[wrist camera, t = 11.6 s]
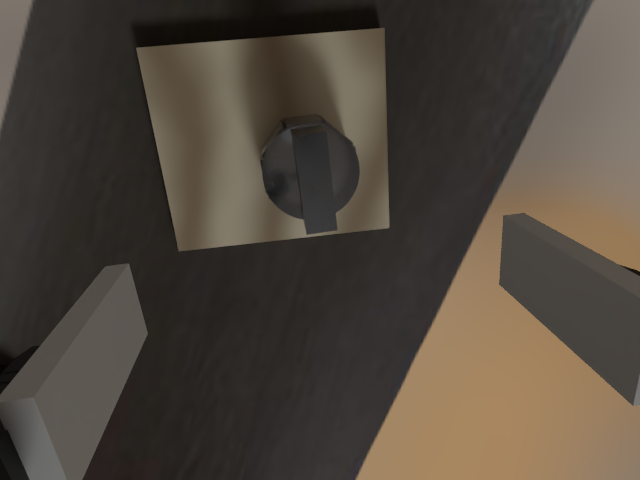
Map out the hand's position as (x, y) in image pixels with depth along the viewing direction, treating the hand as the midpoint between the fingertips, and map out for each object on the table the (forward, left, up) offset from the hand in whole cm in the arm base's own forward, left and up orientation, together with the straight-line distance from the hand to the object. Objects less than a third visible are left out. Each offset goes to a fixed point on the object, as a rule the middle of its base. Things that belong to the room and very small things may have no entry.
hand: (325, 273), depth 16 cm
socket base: (-1, +2, -19) cm, 19 cm away
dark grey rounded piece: (+1, +1, -18) cm, 18 cm away
